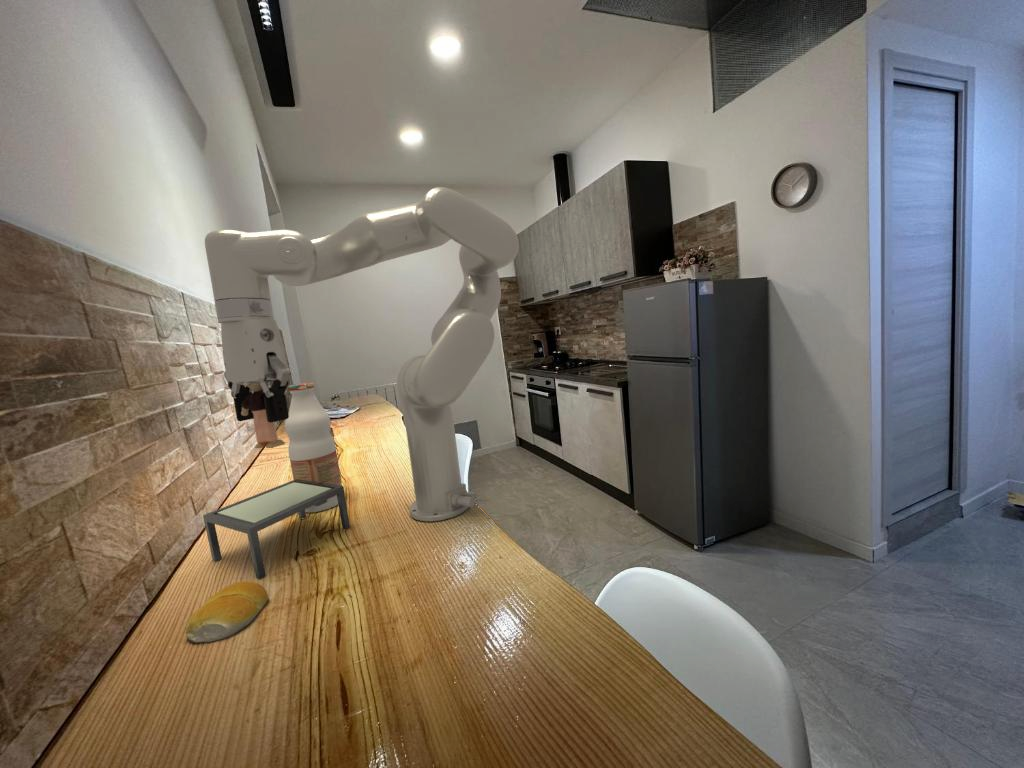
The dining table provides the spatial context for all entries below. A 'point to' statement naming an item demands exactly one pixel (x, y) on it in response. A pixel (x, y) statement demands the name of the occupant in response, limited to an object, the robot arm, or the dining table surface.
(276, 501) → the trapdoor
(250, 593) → the bread roll
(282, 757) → the dining table surface
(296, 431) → the fruit juice
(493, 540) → the dining table surface
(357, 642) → the dining table surface
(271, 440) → the grandmother figurine
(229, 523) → the miniature green-top table
